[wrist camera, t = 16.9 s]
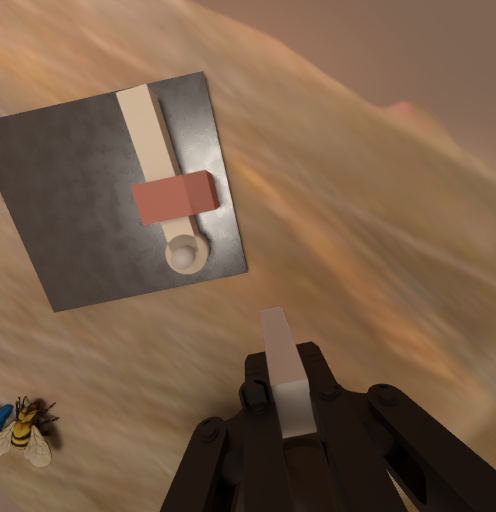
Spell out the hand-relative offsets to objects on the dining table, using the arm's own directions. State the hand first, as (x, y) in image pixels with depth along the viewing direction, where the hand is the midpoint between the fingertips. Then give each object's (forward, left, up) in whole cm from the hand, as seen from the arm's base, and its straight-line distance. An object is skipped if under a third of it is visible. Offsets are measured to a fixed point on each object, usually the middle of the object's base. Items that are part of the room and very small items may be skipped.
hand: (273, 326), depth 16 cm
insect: (-25, +49, -27) cm, 61 cm away
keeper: (+10, +9, -25) cm, 28 cm away
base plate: (+11, +19, -26) cm, 34 cm away
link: (+11, +10, -24) cm, 29 cm away
